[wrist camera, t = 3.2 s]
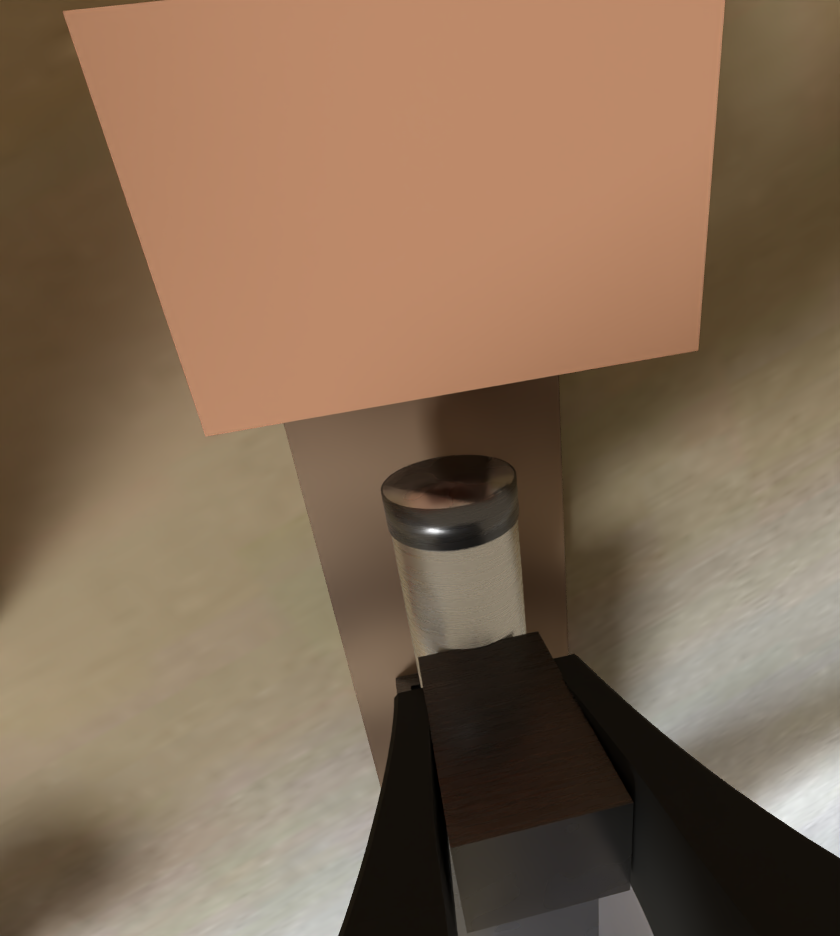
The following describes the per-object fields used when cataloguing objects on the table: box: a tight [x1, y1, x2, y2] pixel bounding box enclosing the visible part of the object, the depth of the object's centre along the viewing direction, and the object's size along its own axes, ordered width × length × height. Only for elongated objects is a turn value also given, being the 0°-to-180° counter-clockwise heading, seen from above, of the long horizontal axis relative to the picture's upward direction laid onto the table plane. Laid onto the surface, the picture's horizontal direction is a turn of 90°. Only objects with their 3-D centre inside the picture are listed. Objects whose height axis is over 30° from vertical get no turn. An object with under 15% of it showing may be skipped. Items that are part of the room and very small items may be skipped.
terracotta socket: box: [63, 0, 725, 436], centre depth 9 cm, size 5×8×6 cm, turn 99°
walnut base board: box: [284, 375, 568, 787], centre depth 15 cm, size 26×8×1 cm, turn 8°
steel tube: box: [381, 455, 634, 933], centre depth 12 cm, size 16×3×7 cm, turn 8°
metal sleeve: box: [395, 673, 599, 936], centre depth 15 cm, size 10×5×5 cm, turn 8°
